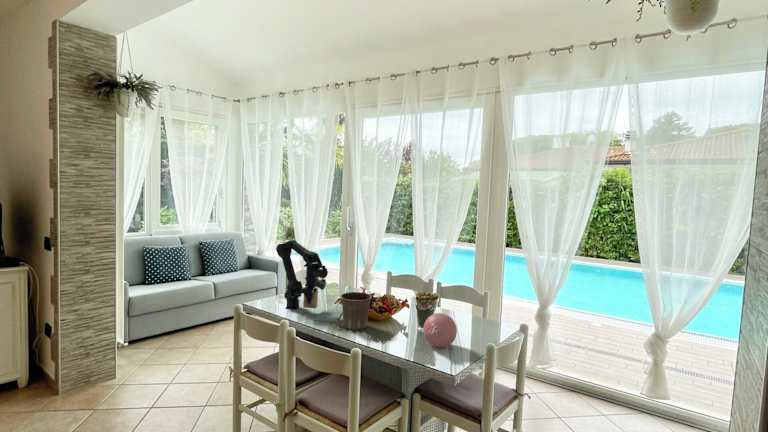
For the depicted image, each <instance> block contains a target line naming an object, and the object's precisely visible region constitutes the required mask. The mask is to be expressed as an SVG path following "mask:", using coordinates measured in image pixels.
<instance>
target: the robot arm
mask: <svg viewBox="0 0 768 432" xmlns="http://www.w3.org/2000/svg"><path fill="white" fill-rule="evenodd" d="M275 250H276V253H277V255H278V257H279V258H280V259H281V260H282V264H283V268H284V272H285V274H286V279H287V281H288V283H287V285H286V291H285V293H284V294H283V296H284V297H283V298H285V299H286V307H285V309H289V310H297V309H299V308H300V299H299V298H300V297H302V294H303V296H304V295H305V297H306V299H307V301H308V303H309V304H310V303H311V298H312V294H313V293H314V291H318V290H319V289H320V290H321V291H322V290H324V289H325V288H326V285H327V282H326V279H325V278H327V277H328V273H329V271H328V269H327V268H326V265H323V263H322V261H321V258H320V257H319V255H320V254H318V253H317V252H315V251H311V250H308V249H307V248H306V247H304V246H303V245H301V243H299V242H297V240H295V239H294V240H293V239H292V240H288V241H286V242H284V243H278V244H277V246H276V249H275ZM292 250H293V251H294V252H295V253H296V254H298V255H300V256H301V258H302V259H303V261H304V262H305V264H304V265H303V267H306V268H305V269H306V271H305V273H306V275H305V278H304V279H305V284H304V287H303V283H302V281H299V280H298V279H297V276H296V272H295V269H294V265H293V262H292V261H293V260H292V258H291V256H292V253H293V251H292ZM319 278H321V279H319Z"/></svg>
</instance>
